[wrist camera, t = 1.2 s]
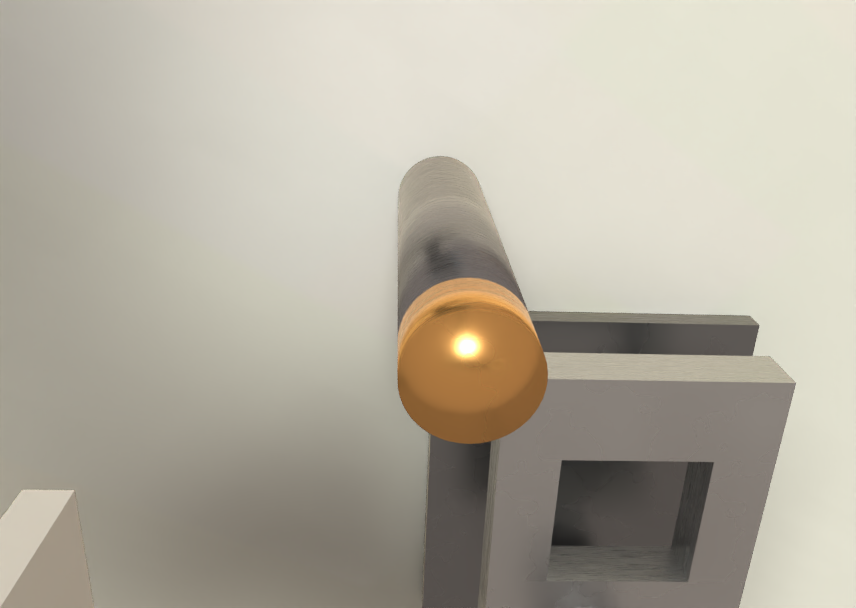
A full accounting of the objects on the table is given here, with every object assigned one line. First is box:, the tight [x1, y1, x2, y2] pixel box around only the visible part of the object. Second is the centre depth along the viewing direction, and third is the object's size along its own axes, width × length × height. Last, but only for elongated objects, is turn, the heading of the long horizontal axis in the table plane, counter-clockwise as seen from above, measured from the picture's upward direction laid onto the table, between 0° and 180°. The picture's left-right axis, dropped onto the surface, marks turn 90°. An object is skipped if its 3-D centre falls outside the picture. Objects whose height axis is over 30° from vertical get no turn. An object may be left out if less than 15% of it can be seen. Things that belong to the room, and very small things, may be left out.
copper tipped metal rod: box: [398, 156, 548, 444], centre depth 25 cm, size 3×3×16 cm
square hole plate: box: [422, 311, 796, 608], centre depth 30 cm, size 17×14×16 cm
